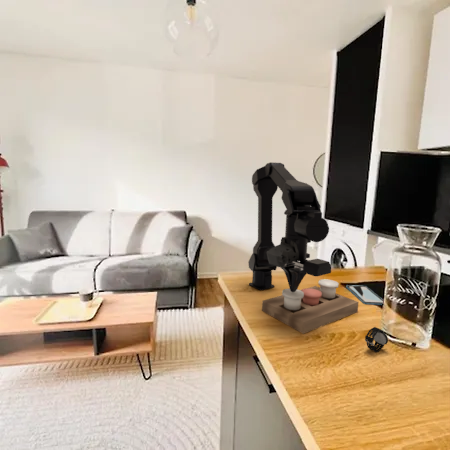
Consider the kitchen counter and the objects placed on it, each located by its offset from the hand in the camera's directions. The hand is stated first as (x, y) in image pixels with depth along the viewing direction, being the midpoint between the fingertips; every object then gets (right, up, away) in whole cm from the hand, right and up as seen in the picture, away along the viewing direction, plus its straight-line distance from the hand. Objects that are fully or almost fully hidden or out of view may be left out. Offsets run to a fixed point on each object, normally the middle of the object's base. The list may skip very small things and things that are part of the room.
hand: (293, 291), depth 80 cm
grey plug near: (0, -4, +1) cm, 4 cm away
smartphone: (+28, -6, +18) cm, 34 cm away
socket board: (+6, -7, +5) cm, 11 cm away
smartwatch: (+15, -10, -13) cm, 22 cm away
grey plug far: (+12, -3, +9) cm, 16 cm away
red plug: (+6, -5, +5) cm, 9 cm away
